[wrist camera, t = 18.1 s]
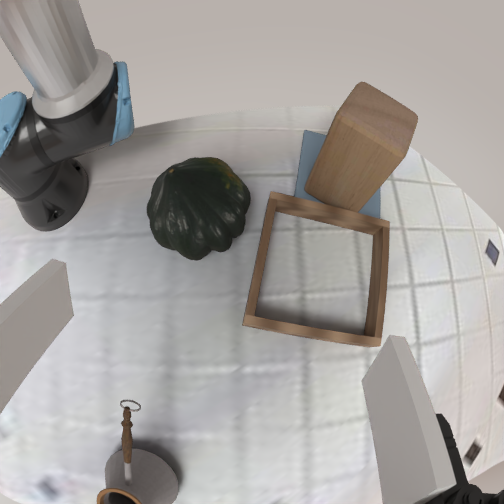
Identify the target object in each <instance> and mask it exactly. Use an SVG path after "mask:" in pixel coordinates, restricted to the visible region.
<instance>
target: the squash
mask: <svg viewBox="0 0 504 504" xmlns="http://www.w3.org/2000/svg"><path fill="white" fill-rule="evenodd" d="M250 199H251V198H250V192H249V190H248V188H247V186H246V185H245V184H244V183H243V182H242V180H241V179H240V178H239V177H238V176H237V175H236V174H235V173H234V172H233V171H232V169H231V168H230V167H229V166H228V165H227V164H226V163H225V162H224V161H222V160H220V159H218V158H212V157H205V158H190V159H188V160H186V161H183V162H182V163H179V164H175V165H173V166H171V167H169V168H168V169H167V170H166V171H165V172H163V173H162V174H161V175H160V176H159V177H158V178H157V179H156V181H155V183H154V185H153V188H152V192H151V198H150V200H149V202H148V204H147V215H148V217H149V219H150V228H151V231H152V233H153V235H154V238H155V239H156V241H157V242H158V243H159V244H160V245H161V246H163V247H165V248H167V249H171V250H176V251H178V252H179V253H180V254H181V255H183V256H184V257H186V258H188V259H190V260H201V259H202V258H204V257H205V256H207V255H208V254H209V253H210V252H211V250H214V251H218V252H223V251H226V250H228V249H229V248H230V246H231V243H232V238H235V237H237V236H239V235H241V234H242V232H243V230H244V226H245V214H246V212H247V210H248V208H249V205H250Z"/></svg>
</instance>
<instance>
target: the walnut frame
mask: <svg viewBox="0 0 504 504" xmlns="http://www.w3.org/2000/svg"><path fill="white" fill-rule="evenodd" d="M275 211H276V212H281V213H285V214H289V215H294V216H298V217H302V218H307V219H311V220H315V221H319V222H323V223H327V224H332V225H336V226H340V227H344V228H348V229H352V230H356V231H359V232H363V233H367V234H371V235H373V250H372V265H371V277H370V288H369V298H368V308H367V316H366V324H365V332H364V336H362V335H356V334H349V333H343V332H337V331H331V330H325V329H319V328H313V327H308V326H302V325H297V324H291V323H286V322H281V321H276V320H271V319H266V318H261V317H256V316H254V315H255V310H256V305H257V300H258V295H259V290H260V285H261V280H262V275H263V270H264V265H265V260H266V255H267V250H268V245H269V240H270V234H271V229H272V224H273V219H274V214H275ZM389 225H390V222H389V221H386V220H382V219H379V218H375V217H372V216H368V215H365V214H361V213H357V212H353V211H350V210H346V209H342V208H338V207H334V206H330V205H327V204H323V203H319V202H314V201H310V200H306V199H302V198H298V197H294V196H289V195H285V194H281V193H276V192H272V191H271V193H270V197H269V200H268V204H267V209H266V214H265V219H264V224H263V229H262V233H261V238H260V243H259V248H258V253H257V258H256V262H255V267H254V272H253V277H252V282H251V286H250V291H249V296H248V301H247V305H246V310H245V315H244V320H243V324H242V325H243V326H248V327H253V328H257V329H262V330H267V331H273V332H278V333H283V334H289V335H294V336H300V337H305V338H311V339H317V340H323V341H330V342H336V343H343V344H350V345H357V346H364V347H377V346H380V345H381V338H382V330H383V322H384V313H385V302H386V291H387V277H388V259H389Z"/></svg>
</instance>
